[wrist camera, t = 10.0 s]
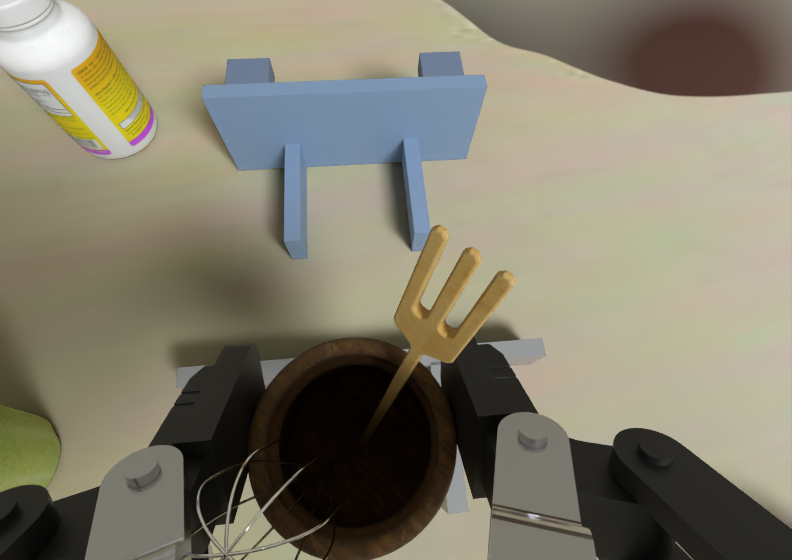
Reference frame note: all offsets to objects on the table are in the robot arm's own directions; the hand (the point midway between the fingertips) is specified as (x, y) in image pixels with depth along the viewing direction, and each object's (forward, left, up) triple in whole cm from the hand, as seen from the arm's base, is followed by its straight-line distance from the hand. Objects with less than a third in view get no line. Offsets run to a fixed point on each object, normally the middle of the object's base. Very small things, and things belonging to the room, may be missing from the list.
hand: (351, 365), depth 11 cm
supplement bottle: (+4, +33, -19) cm, 38 cm away
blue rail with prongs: (+13, +13, -19) cm, 26 cm away
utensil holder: (-1, -1, -6) cm, 6 cm away
